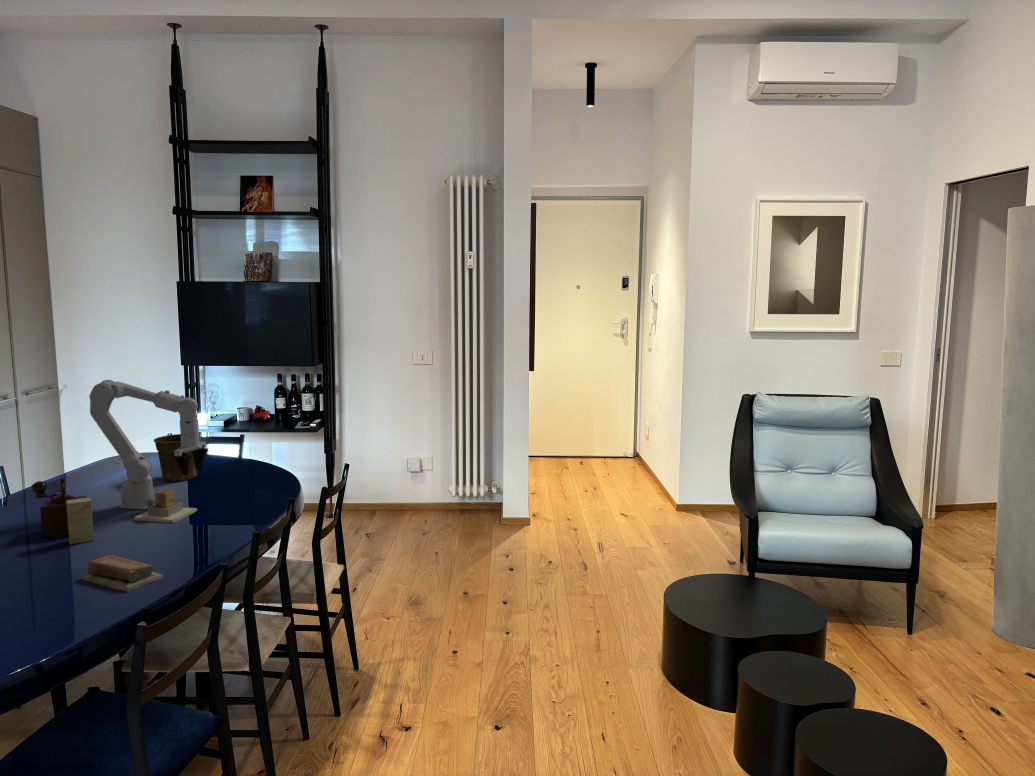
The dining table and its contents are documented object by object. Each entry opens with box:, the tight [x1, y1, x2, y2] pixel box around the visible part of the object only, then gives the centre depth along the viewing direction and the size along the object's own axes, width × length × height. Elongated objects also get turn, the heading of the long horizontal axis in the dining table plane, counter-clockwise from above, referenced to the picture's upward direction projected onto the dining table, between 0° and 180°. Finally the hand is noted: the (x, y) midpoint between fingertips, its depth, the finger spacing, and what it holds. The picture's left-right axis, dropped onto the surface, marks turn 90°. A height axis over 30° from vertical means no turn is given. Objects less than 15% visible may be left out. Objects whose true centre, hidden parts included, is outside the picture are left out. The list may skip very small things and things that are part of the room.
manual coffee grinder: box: [30, 477, 88, 538], centre depth 212 cm, size 16×11×18 cm
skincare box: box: [66, 497, 95, 545], centre depth 206 cm, size 6×4×12 cm
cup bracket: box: [133, 499, 198, 524], centre depth 230 cm, size 14×12×5 cm
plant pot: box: [153, 433, 201, 482], centre depth 276 cm, size 16×16×16 cm
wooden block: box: [154, 489, 176, 508], centre depth 229 cm, size 4×4×7 cm
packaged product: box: [81, 554, 164, 592], centre depth 180 cm, size 18×5×10 cm
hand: (192, 472), depth 244 cm, fingers open, 7 cm apart
